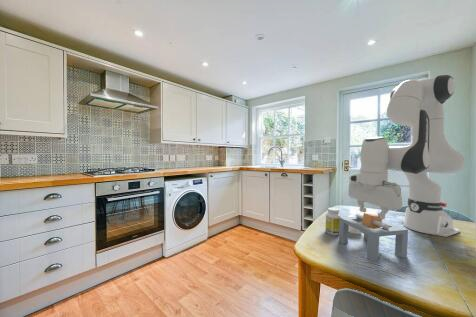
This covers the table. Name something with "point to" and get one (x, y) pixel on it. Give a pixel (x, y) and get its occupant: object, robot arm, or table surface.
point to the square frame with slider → (375, 235)
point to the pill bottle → (332, 221)
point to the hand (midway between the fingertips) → (371, 215)
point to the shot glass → (353, 228)
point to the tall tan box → (370, 221)
